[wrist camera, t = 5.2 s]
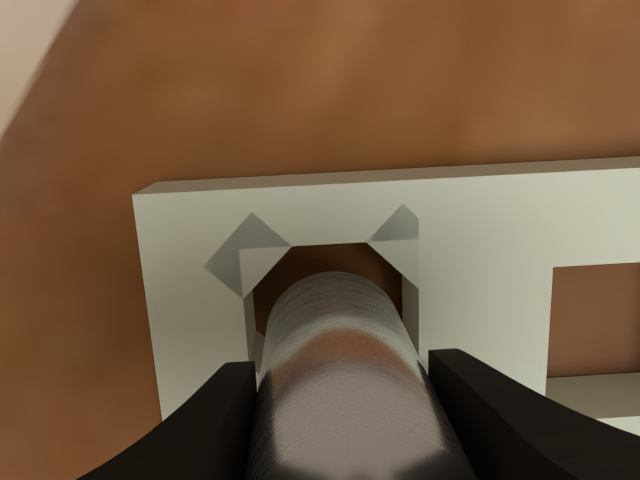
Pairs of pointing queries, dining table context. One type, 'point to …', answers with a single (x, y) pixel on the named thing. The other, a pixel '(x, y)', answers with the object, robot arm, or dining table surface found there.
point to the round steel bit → (347, 392)
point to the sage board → (394, 261)
